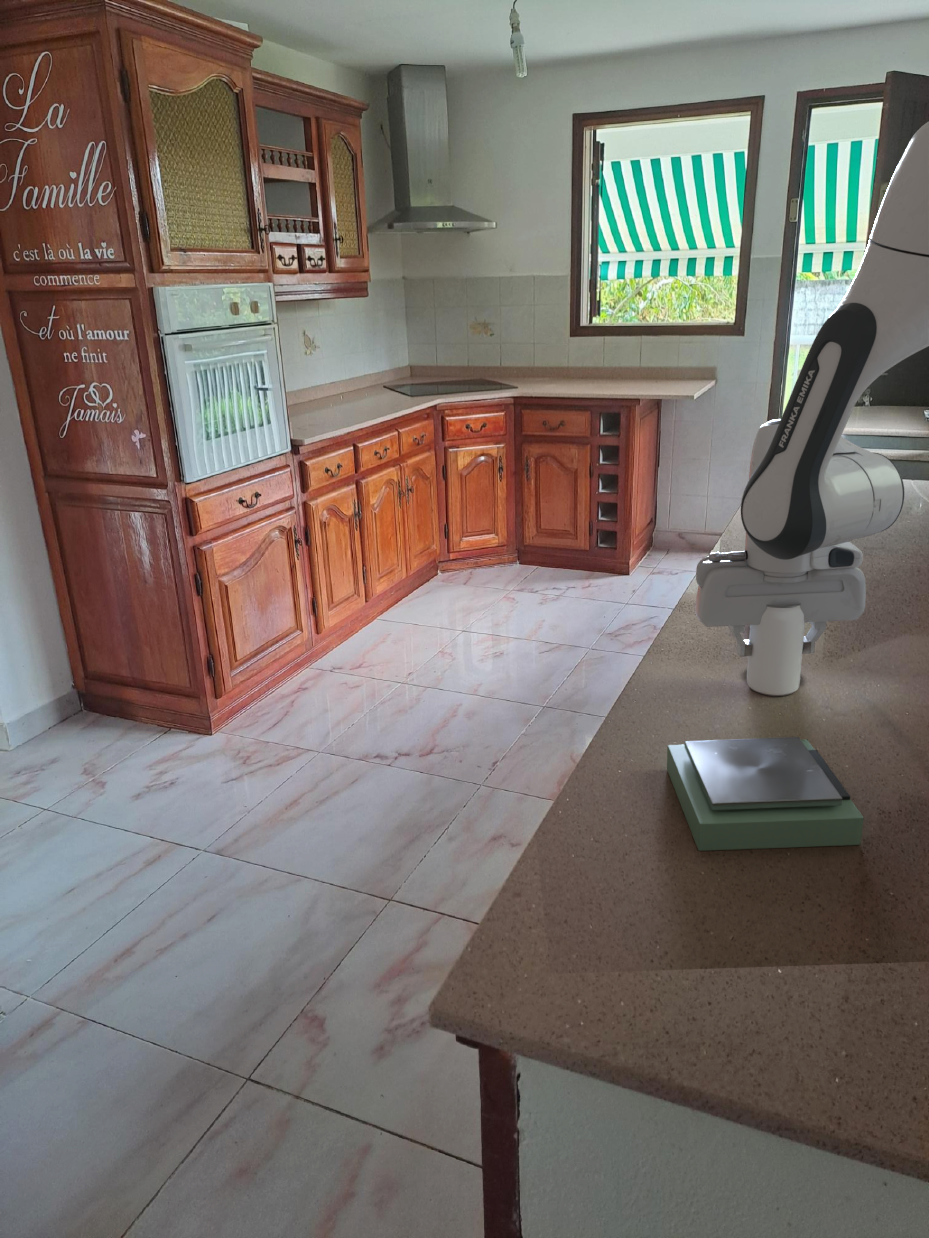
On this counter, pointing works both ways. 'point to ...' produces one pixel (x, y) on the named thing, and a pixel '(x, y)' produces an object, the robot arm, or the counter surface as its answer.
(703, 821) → the scale
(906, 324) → the robot arm
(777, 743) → the scale pan
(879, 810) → the counter surface
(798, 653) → the can
